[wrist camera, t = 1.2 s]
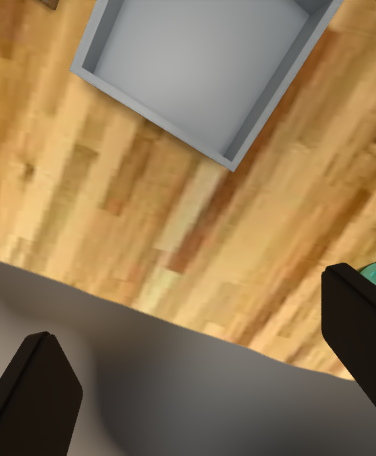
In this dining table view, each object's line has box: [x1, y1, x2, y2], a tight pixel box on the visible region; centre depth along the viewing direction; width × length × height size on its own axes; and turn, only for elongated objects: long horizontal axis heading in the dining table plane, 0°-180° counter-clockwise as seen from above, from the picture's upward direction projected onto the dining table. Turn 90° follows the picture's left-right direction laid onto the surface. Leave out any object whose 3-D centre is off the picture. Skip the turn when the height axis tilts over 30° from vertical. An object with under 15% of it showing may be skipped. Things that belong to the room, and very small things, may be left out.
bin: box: [69, 0, 343, 172], centre depth 26 cm, size 18×18×5 cm
